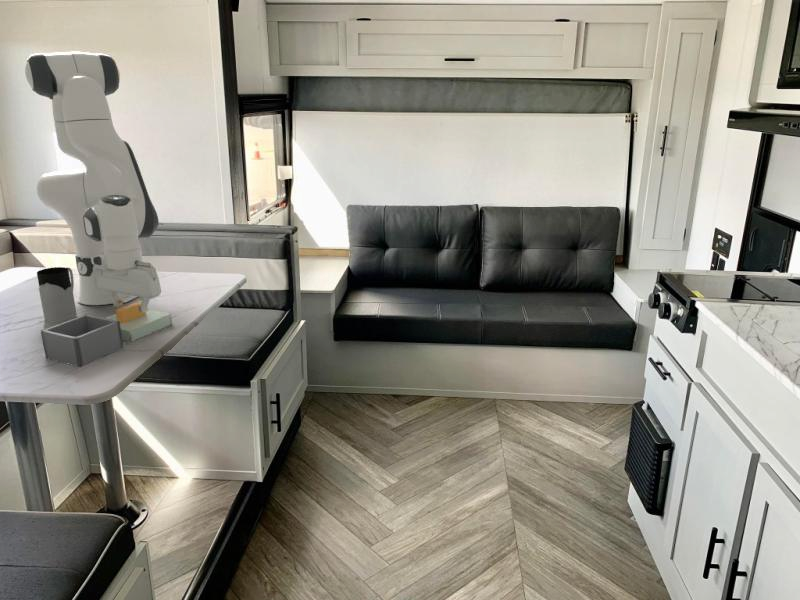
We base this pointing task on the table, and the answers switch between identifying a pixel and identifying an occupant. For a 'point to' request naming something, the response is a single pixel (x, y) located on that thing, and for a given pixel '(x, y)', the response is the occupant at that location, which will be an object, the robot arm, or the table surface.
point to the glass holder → (56, 295)
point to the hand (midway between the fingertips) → (130, 309)
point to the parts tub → (82, 339)
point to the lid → (139, 321)
